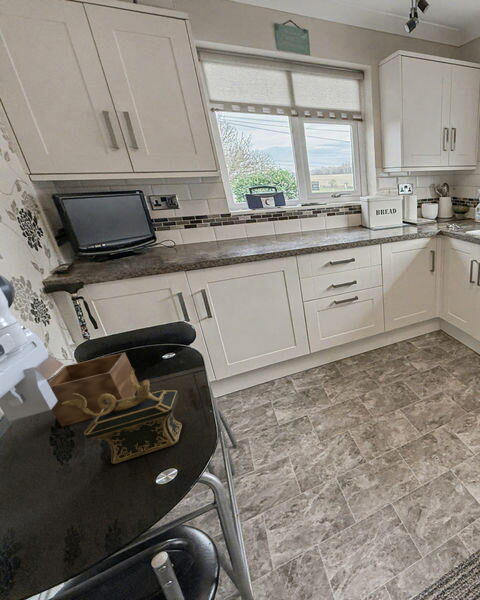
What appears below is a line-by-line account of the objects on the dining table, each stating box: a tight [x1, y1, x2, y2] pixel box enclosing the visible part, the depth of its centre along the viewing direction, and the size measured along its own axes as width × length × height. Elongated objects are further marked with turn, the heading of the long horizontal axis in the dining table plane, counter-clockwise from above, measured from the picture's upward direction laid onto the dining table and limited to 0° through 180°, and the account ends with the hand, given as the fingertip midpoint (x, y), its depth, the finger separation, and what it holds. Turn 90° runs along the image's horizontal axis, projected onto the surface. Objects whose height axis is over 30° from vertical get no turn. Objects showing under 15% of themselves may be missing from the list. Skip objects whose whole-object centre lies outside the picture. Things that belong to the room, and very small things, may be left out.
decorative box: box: [62, 368, 183, 465], centre depth 77 cm, size 20×10×20 cm, turn 114°
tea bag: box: [0, 367, 58, 422], centre depth 71 cm, size 4×7×10 cm, turn 118°
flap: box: [35, 353, 64, 381], centre depth 89 cm, size 7×13×1 cm
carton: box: [47, 352, 141, 428], centre depth 96 cm, size 15×13×12 cm
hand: (26, 397), depth 71 cm, fingers closed on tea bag, 4 cm apart
